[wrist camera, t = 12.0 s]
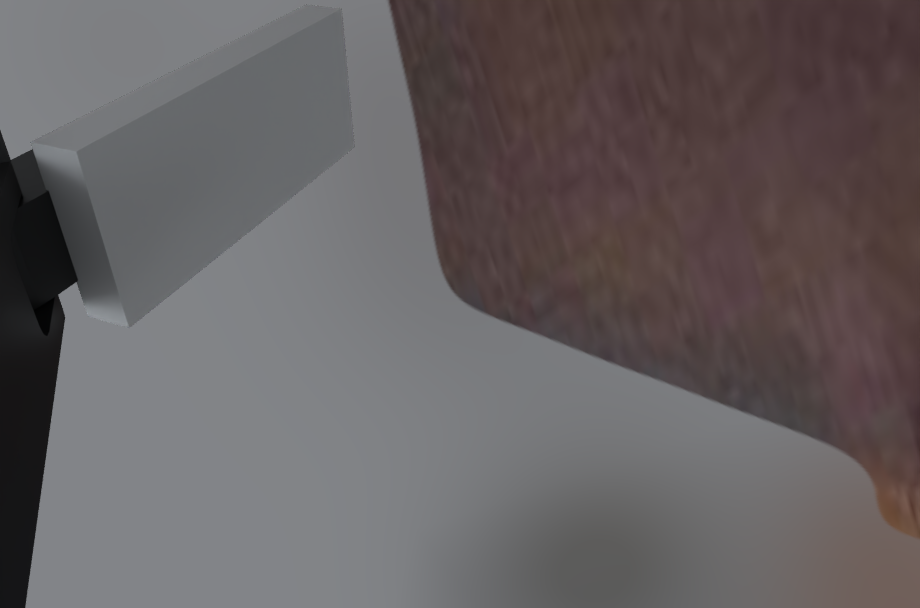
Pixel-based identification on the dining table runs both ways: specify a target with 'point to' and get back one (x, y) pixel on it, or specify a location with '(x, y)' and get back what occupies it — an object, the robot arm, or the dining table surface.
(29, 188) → the robot arm
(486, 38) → the dining table surface
